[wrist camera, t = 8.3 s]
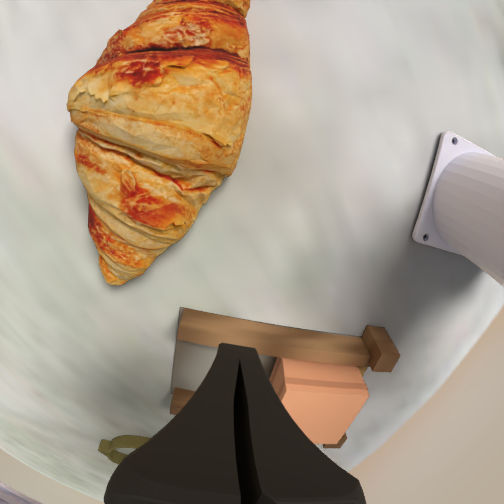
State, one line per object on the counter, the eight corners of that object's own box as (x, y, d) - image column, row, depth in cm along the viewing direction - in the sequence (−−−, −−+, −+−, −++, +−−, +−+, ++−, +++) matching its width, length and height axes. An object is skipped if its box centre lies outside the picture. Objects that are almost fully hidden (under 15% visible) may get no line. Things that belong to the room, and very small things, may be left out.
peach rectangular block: (354, 355, 23) (370, 395, 19) (327, 406, 26) (336, 444, 22) (280, 346, 23) (285, 389, 19) (260, 400, 25) (262, 441, 21)
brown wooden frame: (384, 327, 23) (400, 355, 20) (333, 420, 27) (339, 448, 24) (182, 293, 22) (172, 322, 18) (170, 400, 26) (163, 429, 23)
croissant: (173, 263, 25) (209, 332, 19) (46, 252, 19) (36, 329, 13) (266, -2, 17) (343, -21, 11) (130, -50, 11) (156, -109, 5)
